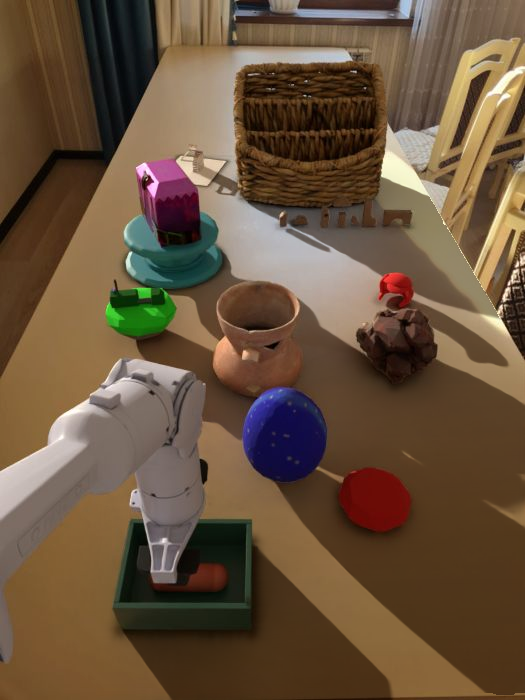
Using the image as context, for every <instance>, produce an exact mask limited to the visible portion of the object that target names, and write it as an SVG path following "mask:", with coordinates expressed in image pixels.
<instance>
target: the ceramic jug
mask: <svg viewBox="0 0 525 700" xmlns="http://www.w3.org/2000/svg"><path fill="white" fill-rule="evenodd" d="M300 308H301V304H300V301H299V299H298V297H297V295H295V294H294V292H292V291H291V290H290V289H288V288H287V287H286V286H284V285H282V284H279V283H277V282H271V281H269V280H268V281H267V280H251V281H250V280H249V281H244V282H240V283H238V284H235V285H232V286H230V287H229V288H228V289H226V290H225V291H224V292H222V294H221V295H220V296H219V298H218V299H217V302H216V315H217V319H218V323H219V325H220V328H221V330H222V332H223V334H224V336H223V338H221V340H220V341H218V343H217V345H216V346H215V348H214V351H213V355H212V359H211V360H212V361H211V362H212V363H211V364H212V367H213V371H214V372H215V374H216V376H217V378H218V380H219V381H220V383H222V384H223V385H224V386H225V387H226V388H228V389H229V390H230V391H233V392H235V393H237V394H241V395H243V396H248V397H256V398H259V396H260V395H261V394H262V393H264V392H265V391H267V390H269V389H272V388H277V387H288V388H290V387H291V386H292V385H293V384H294V383H295V382H296V381H297V379H298V378H299V377H300V375H301V373H302V370H303V366H304V356H303V352H302V349H301V347H300V346H299V344H298V342H297V341H295V339H294V338H293V337H292V336H291V335H292V333H293V332H294V329H295V327H296V324H297V322H298V320H299V315H300V312H301V311H300V310H301V309H300Z"/></svg>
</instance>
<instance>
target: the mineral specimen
mask: <svg viewBox="0 0 525 700" xmlns="http://www.w3.org/2000/svg"><path fill="white" fill-rule="evenodd" d="M429 322H430V317H428V316H427V315H426V314H425V313H424V312H423V311H422V310H421V309H418V308H413V309H412V308H409V307H405V308H399V309H398V310H391V309H390V308H381V309H380V310H378V311H377V312H375V314H374V317H373V322H368V321H367V322H363V323H362V325H361V326H360V327H359V328H357V330H356V333H355V337H356V342H357V343H358V344H359V348H360V349H361V350H362V351H363V353H364V352H365V353H366V356H367V358H368V359H369V361H371V365H372V366H373V367H374V368H375V369H376V370H377V371H378V372H381V373H383V375H384V376H387V377H388V379H389V380H390V382H391V383H392V384H398V383H400V382H401V383H402V382H403V381H404V379H405V377H406V376H409V375H418V374H419V372H423V371H424V369H425V368H427V367H428V366H429V365H431V364H433V360H434V359H437V356H438V345H439V344H438V343H436V342H435V330H434V329H433V327H432V325H430V323H429Z"/></svg>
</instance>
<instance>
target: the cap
mask: <svg viewBox="0 0 525 700" xmlns="http://www.w3.org/2000/svg"><path fill="white" fill-rule="evenodd" d="M378 286H379V287H378V288H379V296H378V297H377V299H378V301H381V300H382V299H383V297H384V296H385V295H386V294H389V293H391V294H395V295H401V296H402V297H403V300H402V301H401V302H400V303H398V307H399V308H402V307H406V305H408V304H410V302H411V300H412V299H413V297H414V289H413V282H412V280H411V279H410V277H409V276H408V275H407V274H404V273H402V272H391V273H386V274H384V276H383V277H381V279H380V280H379V284H378Z"/></svg>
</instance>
